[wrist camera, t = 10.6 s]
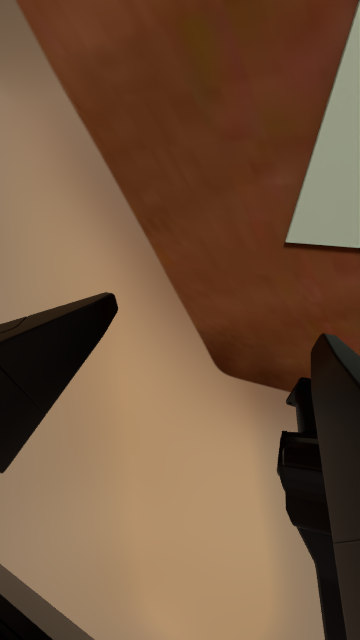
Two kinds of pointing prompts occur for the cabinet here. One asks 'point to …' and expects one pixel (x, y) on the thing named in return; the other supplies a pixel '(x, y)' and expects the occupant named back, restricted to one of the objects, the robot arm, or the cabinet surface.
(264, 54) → the cabinet surface
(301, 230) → the mat
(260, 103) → the cabinet surface
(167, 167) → the cabinet surface
